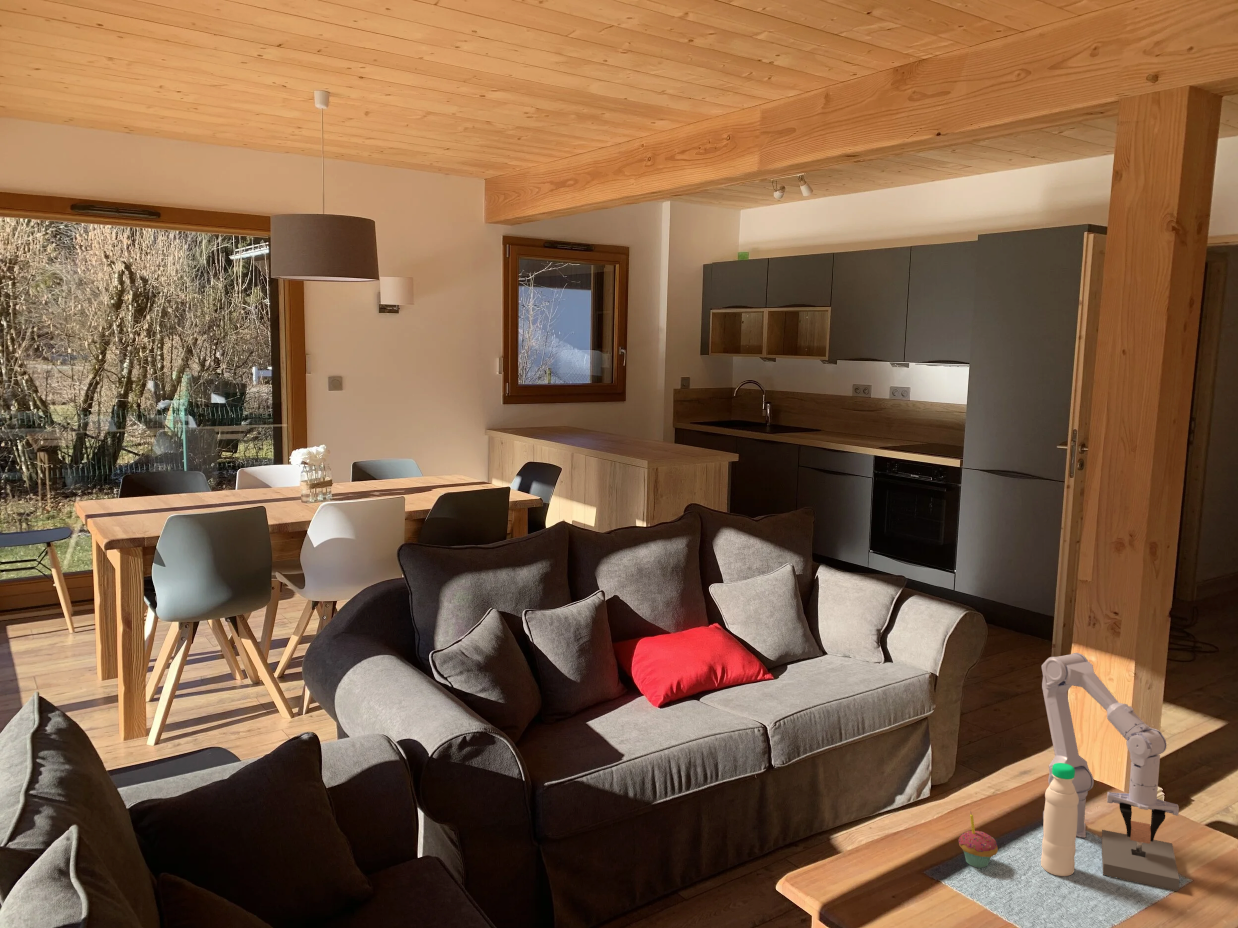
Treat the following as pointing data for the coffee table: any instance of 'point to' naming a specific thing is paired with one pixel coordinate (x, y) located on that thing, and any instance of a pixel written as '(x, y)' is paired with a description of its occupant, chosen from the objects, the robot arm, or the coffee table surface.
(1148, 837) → the orange rectangular block
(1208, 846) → the coffee table surface
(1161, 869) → the base
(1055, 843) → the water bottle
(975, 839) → the cupcake
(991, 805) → the coffee table surface
